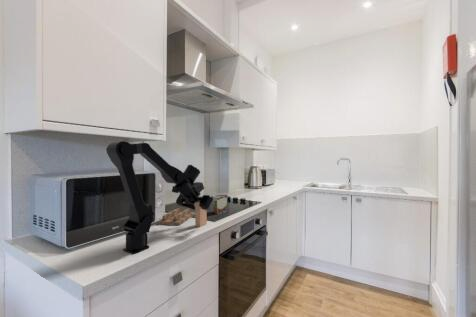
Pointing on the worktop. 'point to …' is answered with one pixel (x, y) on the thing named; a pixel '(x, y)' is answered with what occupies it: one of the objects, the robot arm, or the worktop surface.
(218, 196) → the food container
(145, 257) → the worktop surface
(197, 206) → the clay strip
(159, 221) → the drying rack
